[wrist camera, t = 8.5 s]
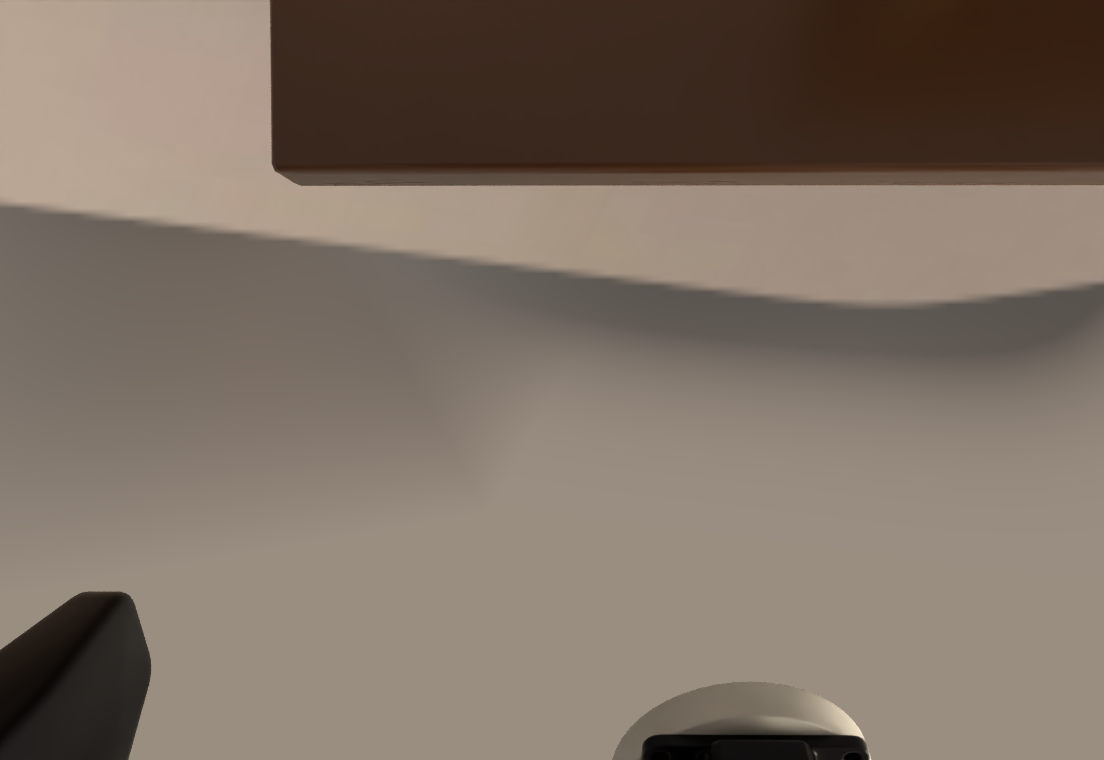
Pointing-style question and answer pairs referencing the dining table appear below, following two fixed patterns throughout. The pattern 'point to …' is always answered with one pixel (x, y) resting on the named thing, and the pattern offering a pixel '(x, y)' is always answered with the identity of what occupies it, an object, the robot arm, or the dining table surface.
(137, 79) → the dining table surface
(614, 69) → the lid
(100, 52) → the dining table surface
